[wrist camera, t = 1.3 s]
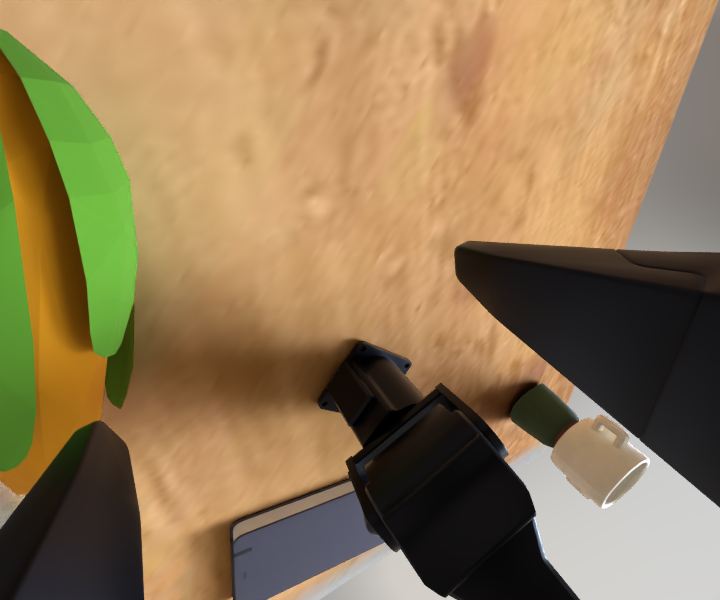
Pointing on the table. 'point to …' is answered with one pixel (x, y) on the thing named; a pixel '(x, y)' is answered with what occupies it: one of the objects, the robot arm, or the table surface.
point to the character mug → (582, 446)
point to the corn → (58, 266)
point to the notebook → (297, 541)
